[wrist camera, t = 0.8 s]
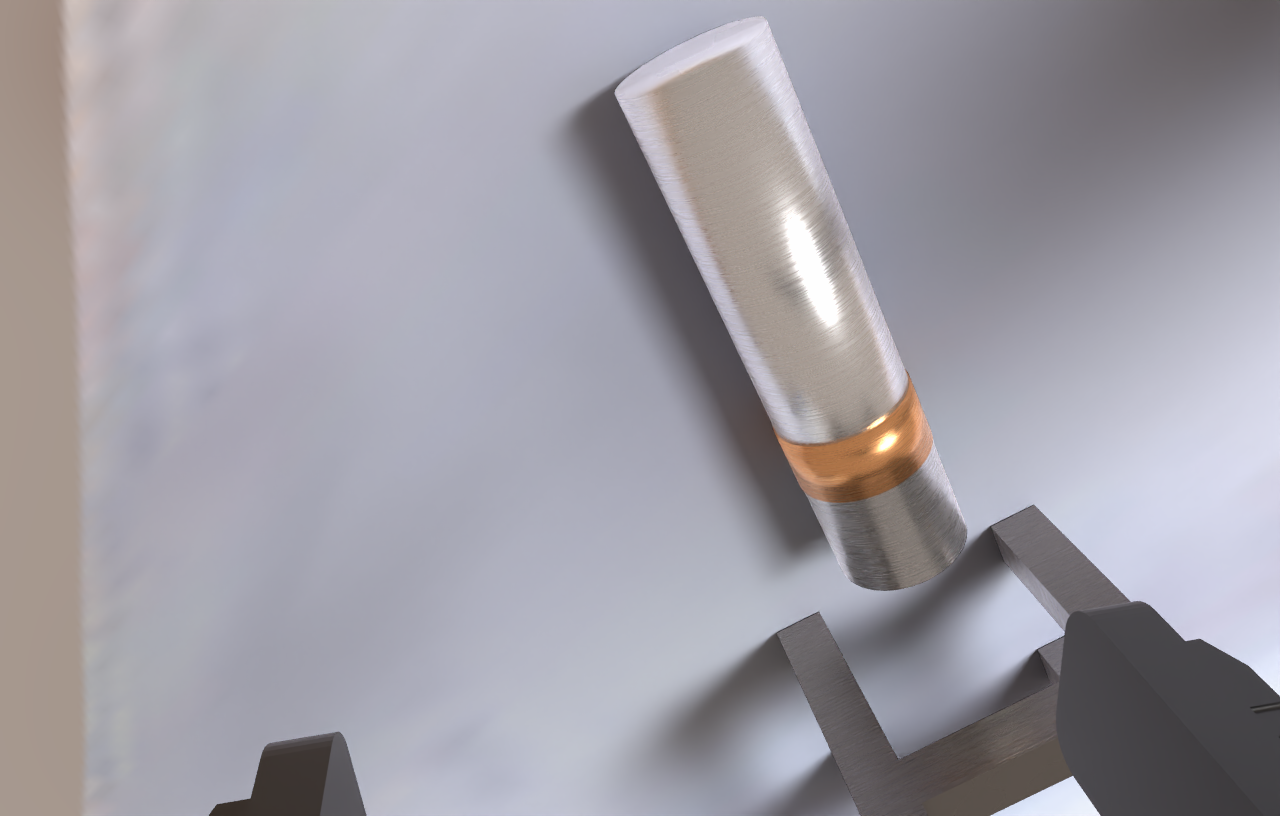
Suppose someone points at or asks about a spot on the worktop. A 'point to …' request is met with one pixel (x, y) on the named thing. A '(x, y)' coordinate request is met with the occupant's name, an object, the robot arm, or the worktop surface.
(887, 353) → the silver cosmetic tube
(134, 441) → the worktop surface
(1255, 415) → the worktop surface
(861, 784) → the frame
